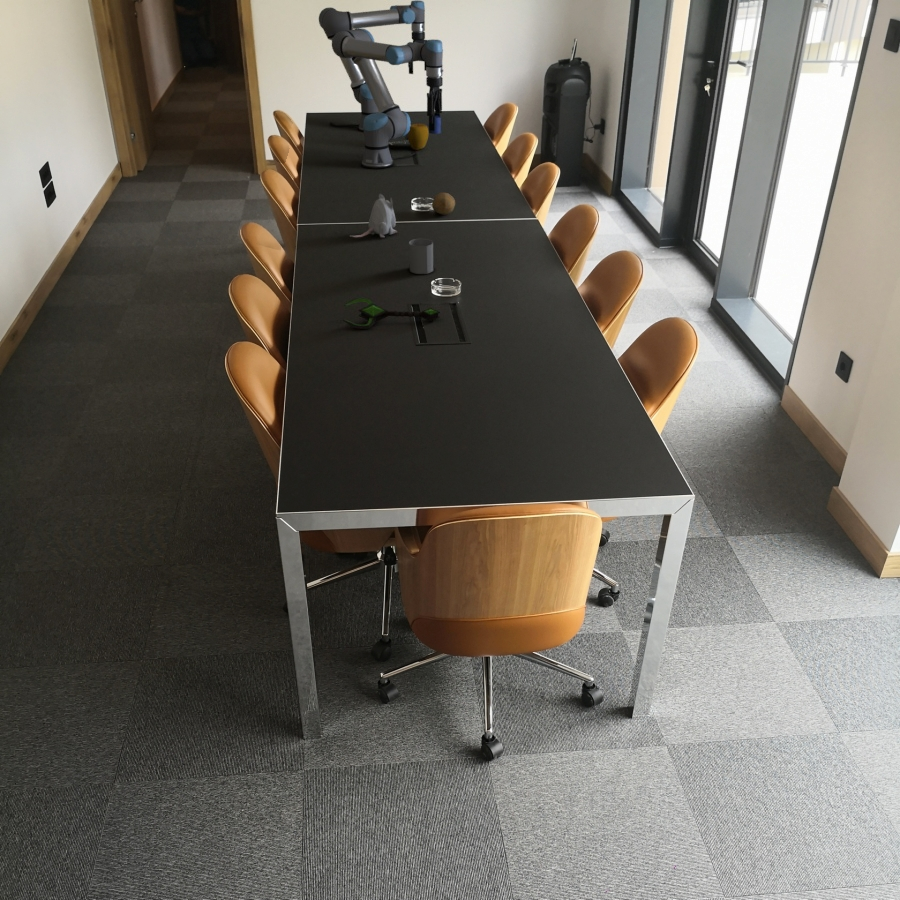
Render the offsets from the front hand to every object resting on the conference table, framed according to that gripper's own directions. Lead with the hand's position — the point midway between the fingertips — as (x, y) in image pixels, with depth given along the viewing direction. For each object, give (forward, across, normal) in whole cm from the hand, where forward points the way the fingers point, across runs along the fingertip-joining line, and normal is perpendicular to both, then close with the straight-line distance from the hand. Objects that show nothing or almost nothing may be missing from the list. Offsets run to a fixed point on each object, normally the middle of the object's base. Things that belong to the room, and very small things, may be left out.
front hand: (434, 128), depth 413 cm
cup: (+18, -128, -47) cm, 138 cm away
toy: (+18, -104, -16) cm, 107 cm away
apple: (+19, +32, +22) cm, 43 cm away
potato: (+18, -65, -30) cm, 74 cm away
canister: (+2, 0, 0) cm, 2 cm away
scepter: (+18, -172, -56) cm, 182 cm away
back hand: (-8, +95, +48) cm, 107 cm away
